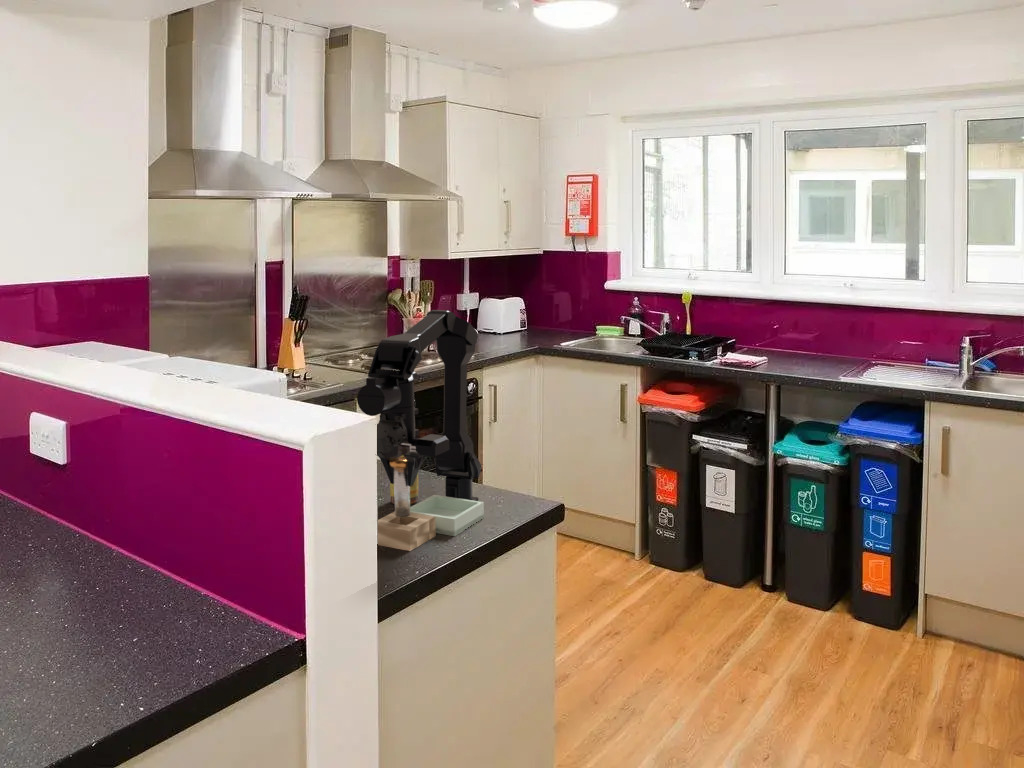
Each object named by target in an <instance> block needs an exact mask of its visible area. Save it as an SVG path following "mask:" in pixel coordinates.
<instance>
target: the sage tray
mask: <svg viewBox="0 0 1024 768" xmlns="http://www.w3.org/2000/svg"><path fill="white" fill-rule="evenodd" d="M410 513H416V514H422V515H428V516H434V517H435V530H436V534H441V535H446V536H452V537H456V536H458V535H460V534H461V533H462V532H464V531H466V530H467V529H469V528H470V526H471V525H472V526H474V525H476V524H477V523H478V521H479V522H481V519H482V520H484V519H485V503H484V501H479V500H478V501H473V500H466V499H460V498H453V497H446V496H445V495H440V494H439V495H438V494H433V495H431V496H429V497H427V498H425V499H423V500H421V501H420V502H418V503H415V504H413V505H411V506H410ZM483 518H484V519H483ZM476 522H477V523H476ZM473 524H474V525H473ZM472 526H471V527H472ZM468 527H469V528H468ZM465 529H466V530H465Z"/></svg>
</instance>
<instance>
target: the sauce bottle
mask: <svg viewBox="0 0 1024 768" xmlns="http://www.w3.org/2000/svg"><path fill="white" fill-rule="evenodd" d="M404 442H408V441H404ZM409 452H410V447H405V446H398V457H404V454H406V453H409ZM389 495H390V502H391V504H393V505H395V501H394V484H391V483H390V482H389ZM418 499H419V473H418V474H417V477H416V479H415V481H414V484H413V485H412V486H410V506H412V505H415V504H416V503H417V502H418Z"/></svg>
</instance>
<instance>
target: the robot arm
mask: <svg viewBox="0 0 1024 768" xmlns="http://www.w3.org/2000/svg"><path fill="white" fill-rule="evenodd" d="M477 341H478V332H477V329H475V327H474V326H473V325H472V323H470V322H469V321H467V320H465V319H463V318H461V317H460V316H456V314H455V313H454V312H453V311H450V310H445V309H444V310H443V309H432V310H430V311H427V313H426V315H425V316H424V317H423V318H422V319H420V320H419V321H418V322H416V323H415V324H414V325H413V326H411V327H410V328H408V329H407V331H405V332H404V333H401V334H397V335H391V336H388V337H386V338H383V339H381V340H380V341H379V343H378V344H377V347H376V349H375V352H374V355H373V358H372V361H371V364H370V367H369V370H368V374H367V377H366V379H365V382H366V383H365V385H363V386H362V387H361V388H360V389H359V391H358V393H357V396H356V402H357V405H358V408H359V409H360V411H361V412H362V413H364V414H365V415H367V416H369V417H375V416H378V415H379V421H378V423H376V424H377V455H376V456H377V457H378V458H379V460H380V461H381V463H382V465H383V468H384V470H385V473H386V475H387V478H388V480H389V484H390V483H391V484H394V471H393V467H391V466H390V462H389V460H390V459H391V458H395V457H398V446H405V447H410V452H409V453H406V454H404V457H405V459H406V460H407V479H408V486H412V485H413V484H414V481H415V479H416V477H417V474H418V475H419V473H420V472H419V471H420V469H421V466H422V464H423V463H424V460H425V459H426V457H433V463H434V467H435V472H436V476H437V477H445V486H444V488H445V490H444V491H445V494H444V496H446V497H453V498H460V499H466V500H473V501H479V497H477V496H473V480H474V479H478V478H480V475H481V472H482V464H481V462H480V460H479V458H478V457H477V455H476V454H475V451H474V441H473V440H472V438H471V437H470V435H469V432H467V399H468V398H467V397H468V396H467V395H468V394H467V393H468V392H467V391H468V390H467V389H468V365H469V363H470V360H471V359H472V357H473V356H474V354H475V352H476V344H477ZM434 342H435V343H436V352H437V354H438V356H439V357H440V359H441V360H442V363H443V366H444V367H443V368H444V370H443V371H444V375H443V376H444V377H443V378H444V379H443V380H444V383H443V432H442V433H441V434H435V433H433V434H432V433H430V434H427V435H425V436H422V437H417V436H419V435H420V429H418V428H417V429H416V419H415V418H416V415H419V408H416V407H415V384H414V383H415V382H414V381H415V379H418V378H419V375H418V374H417V372H416V371H415V370H416V368H417V366H418V365H419V364H420V362H421V361H422V359H423V358H422V353H423V351H424V350H425V349H426V348H428V347H429V346H430V345H431V344H432V343H434ZM404 441H408V442H404Z"/></svg>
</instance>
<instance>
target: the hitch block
mask: <svg viewBox="0 0 1024 768" xmlns="http://www.w3.org/2000/svg"><path fill="white" fill-rule="evenodd" d="M410 514H411V515H410V516H407V517H397V516H395V511H392V512H391V513H389V514H387V515H385V516H384V517H381V518H380V519H377V520H378V545H377V546H381V547H388V548H393V549H398V550H403V551H409V552H411V551H413V550H414V549H417V548H418V547H419V546H421V545H423V544H425V543H427V542H428V541H430V540H431V539H434V538H436V534H437V533H436V530H435V517H434V516H428V515H422V514H416V513H410Z"/></svg>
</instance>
